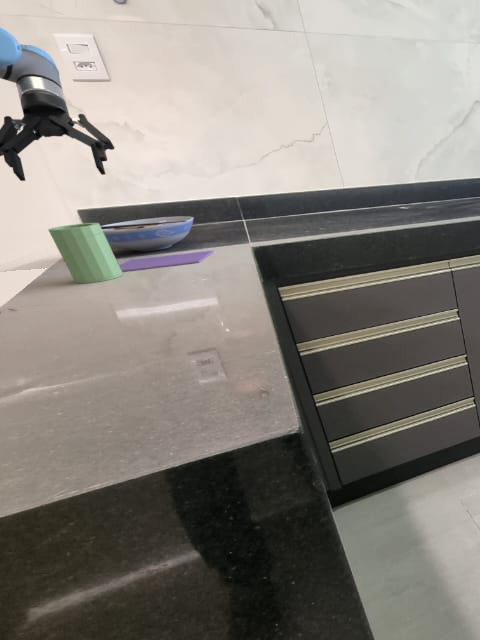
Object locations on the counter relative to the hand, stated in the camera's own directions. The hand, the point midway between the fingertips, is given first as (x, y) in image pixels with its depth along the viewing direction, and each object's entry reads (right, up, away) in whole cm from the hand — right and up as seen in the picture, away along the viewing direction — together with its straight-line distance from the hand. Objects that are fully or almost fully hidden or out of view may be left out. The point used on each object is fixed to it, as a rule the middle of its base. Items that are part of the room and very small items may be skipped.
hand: (61, 173), depth 121 cm
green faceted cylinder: (+7, -24, +2) cm, 25 cm away
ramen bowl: (-8, -11, +32) cm, 35 cm away
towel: (+10, -18, +15) cm, 25 cm away
